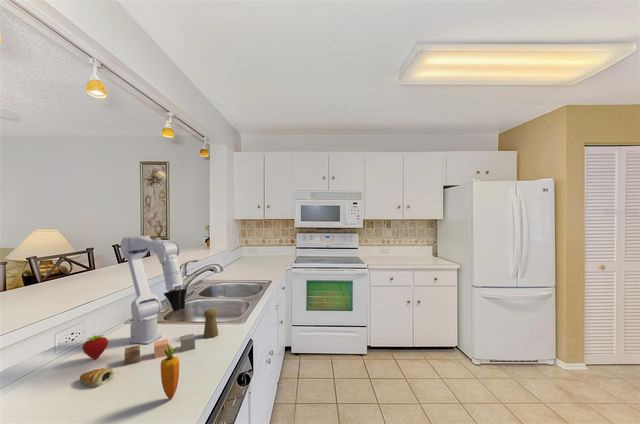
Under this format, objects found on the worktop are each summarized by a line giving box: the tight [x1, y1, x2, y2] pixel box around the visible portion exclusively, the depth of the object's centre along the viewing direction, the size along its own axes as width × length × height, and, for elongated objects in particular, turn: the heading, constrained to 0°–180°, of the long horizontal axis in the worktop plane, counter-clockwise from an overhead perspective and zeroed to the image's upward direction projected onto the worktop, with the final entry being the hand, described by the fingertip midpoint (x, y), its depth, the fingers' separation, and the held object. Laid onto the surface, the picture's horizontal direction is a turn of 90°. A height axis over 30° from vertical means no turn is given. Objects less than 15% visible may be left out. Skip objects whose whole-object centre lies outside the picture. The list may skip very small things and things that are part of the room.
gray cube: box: [180, 333, 196, 353], centre depth 114 cm, size 4×4×4 cm
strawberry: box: [82, 333, 109, 360], centre depth 107 cm, size 6×8×10 cm
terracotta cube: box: [153, 338, 170, 359], centre depth 110 cm, size 4×4×4 cm
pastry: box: [79, 367, 115, 388], centre depth 93 cm, size 9×7×4 cm
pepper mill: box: [203, 308, 219, 339], centre depth 126 cm, size 6×6×11 cm
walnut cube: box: [124, 344, 141, 367], centre depth 105 cm, size 4×4×4 cm
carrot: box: [160, 344, 180, 400], centre depth 83 cm, size 5×5×15 cm
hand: (179, 309), depth 110 cm, fingers open, 7 cm apart
